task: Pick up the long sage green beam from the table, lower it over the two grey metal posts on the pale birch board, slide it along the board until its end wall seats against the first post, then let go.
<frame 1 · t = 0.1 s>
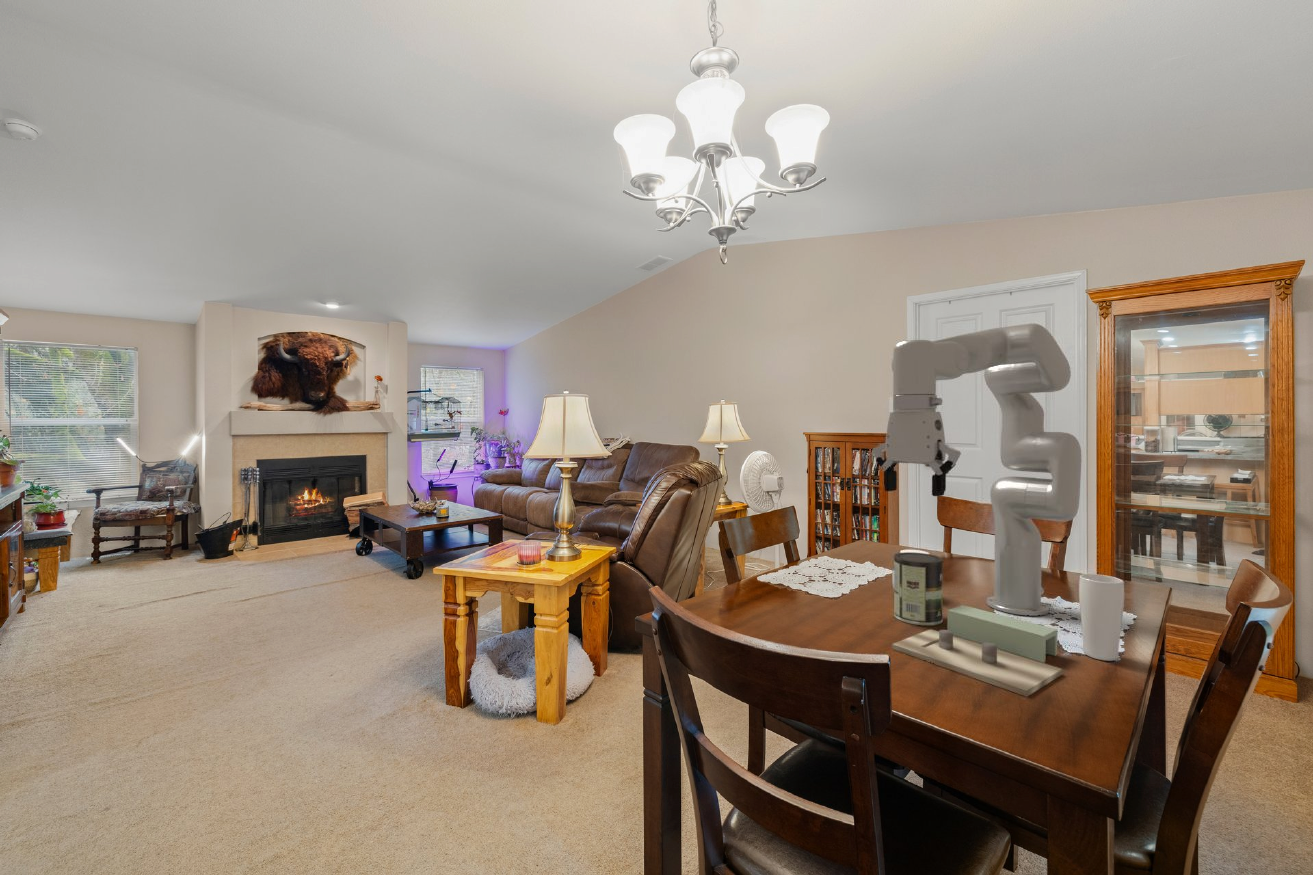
hand: (913, 493, 110), 31 cm above the table, tool pointing down, fingers open, 9 cm apart
coffee can: (917, 618, 129), on the table
spread jar: (914, 600, 143), on the table
board: (972, 661, 106), on the table
long sage green beam: (999, 643, 114), on the table
drinking glass: (1100, 657, 108), on the table
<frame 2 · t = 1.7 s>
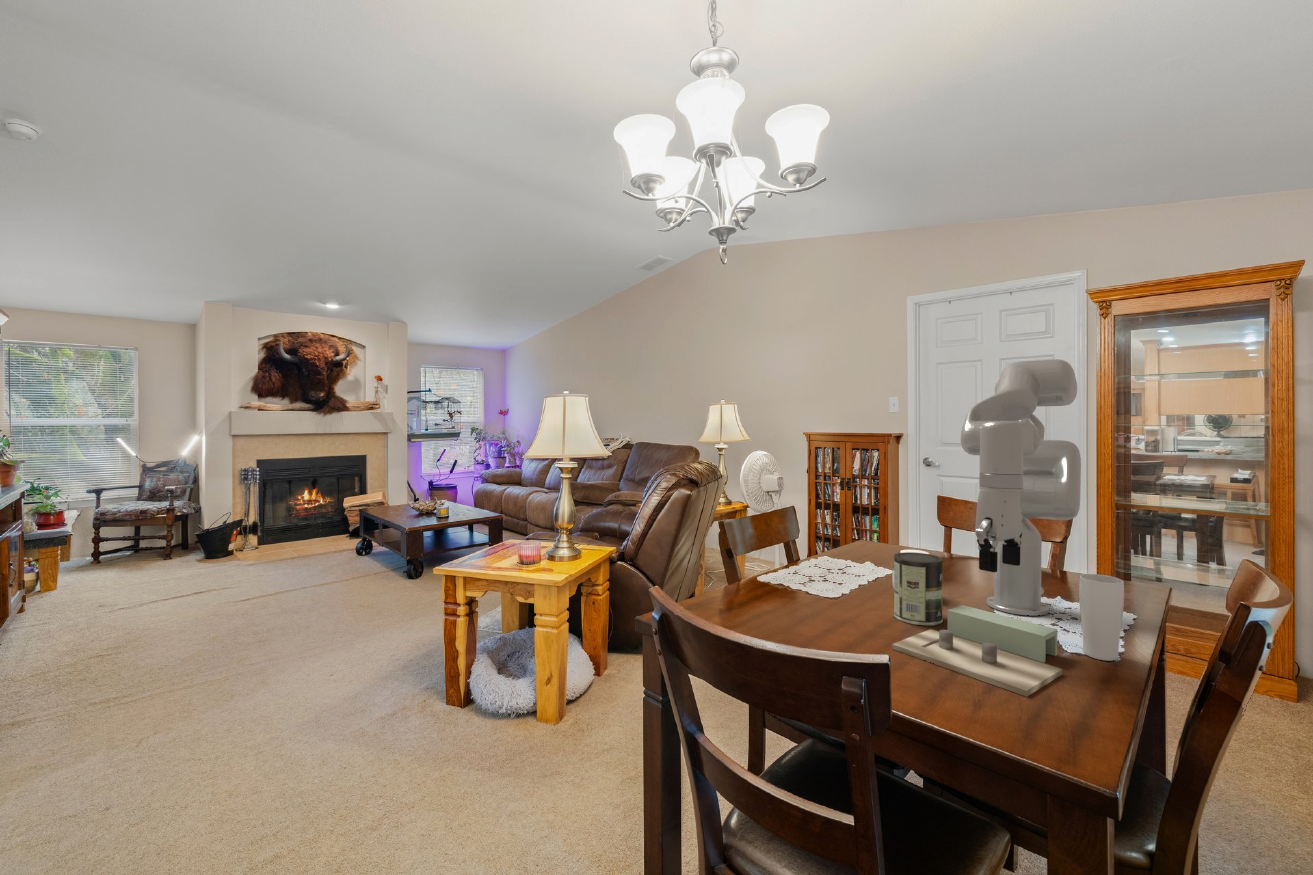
hand: (999, 567, 113), 16 cm above the table, tool pointing down, fingers open, 9 cm apart
nothing on the table moved.
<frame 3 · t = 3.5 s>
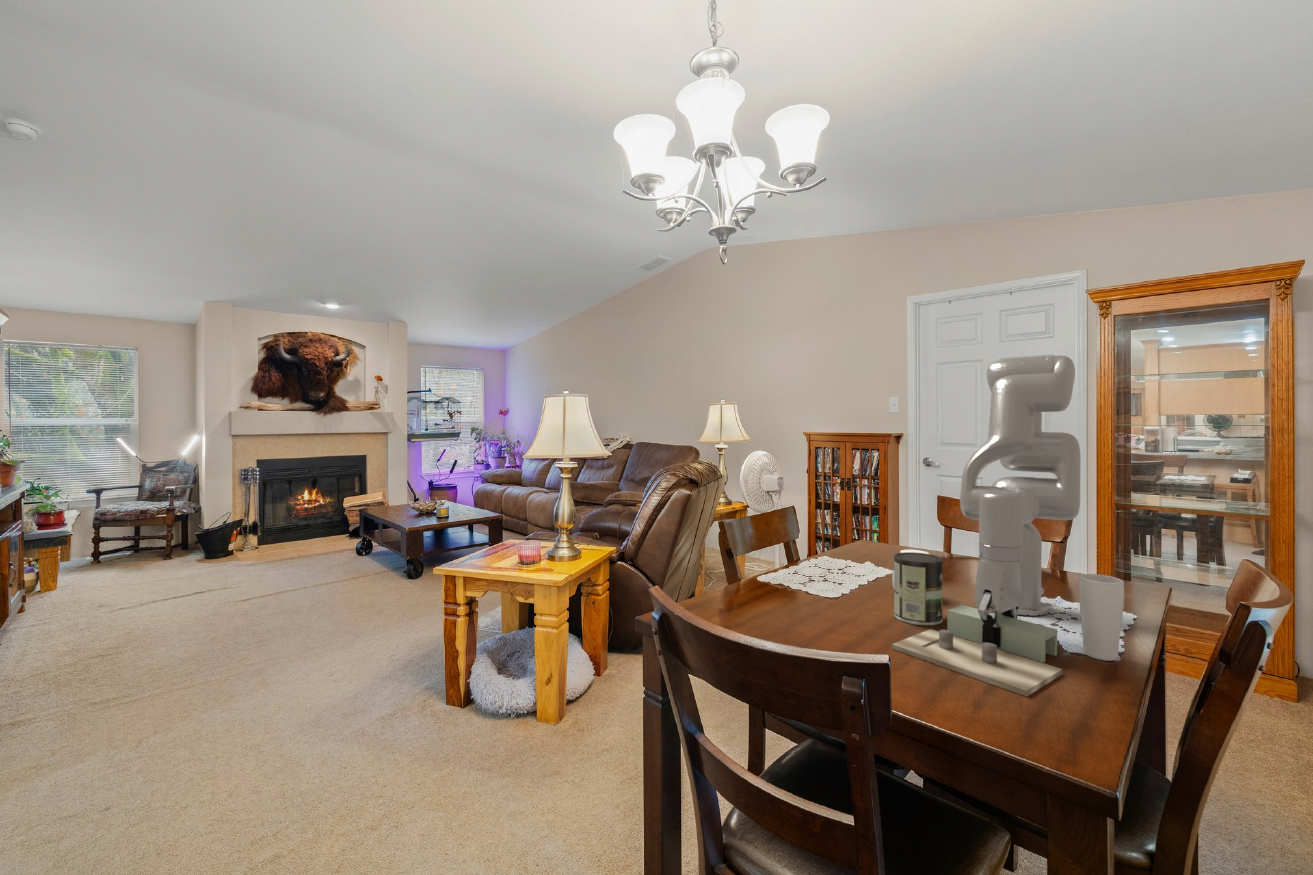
hand: (999, 640, 114), 1 cm above the table, tool pointing down, fingers closed on long sage green beam, 6 cm apart
long sage green beam: (999, 643, 114), on the table, touching gripper
everything else where it was.
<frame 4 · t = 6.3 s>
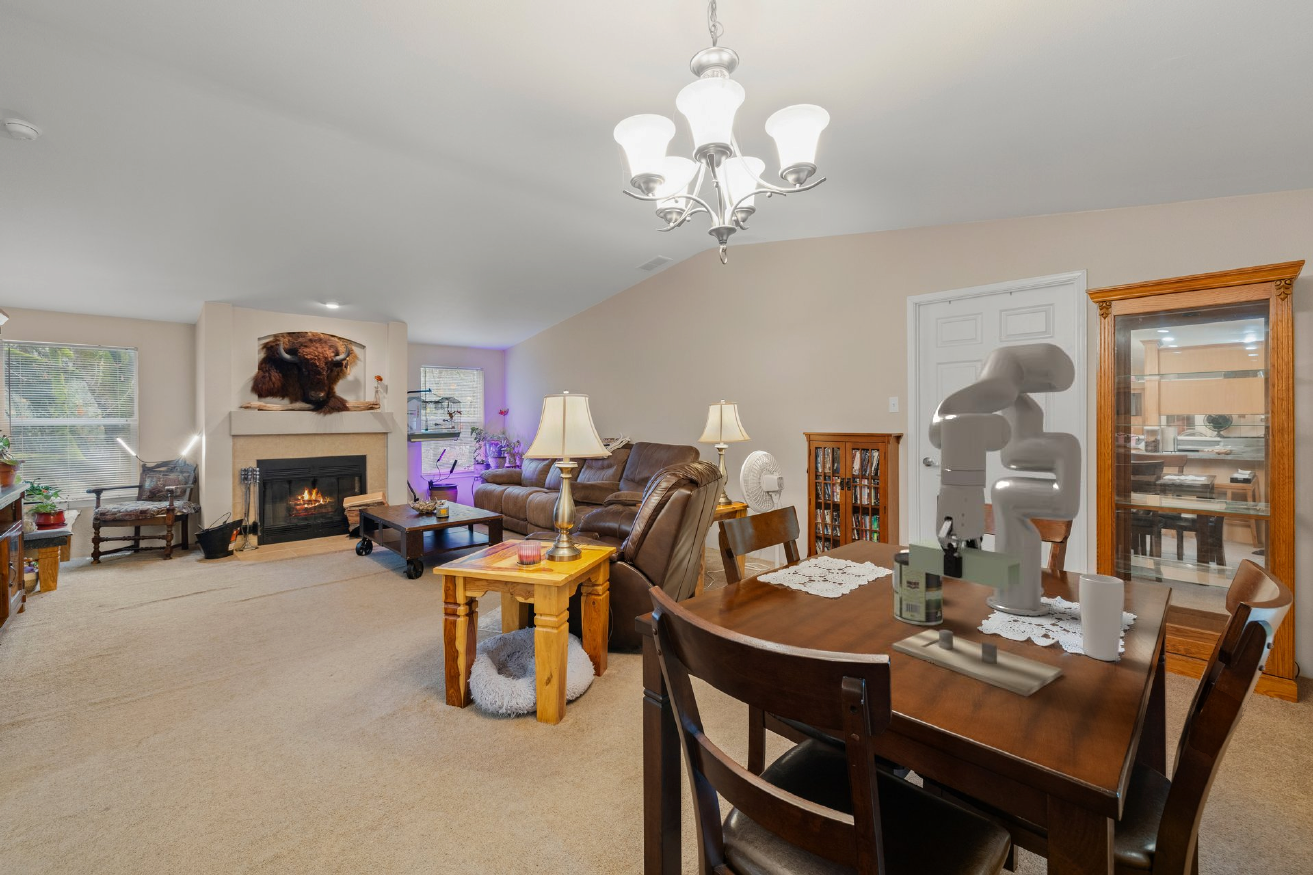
hand: (962, 573, 107), 16 cm above the table, tool pointing down, fingers closed on long sage green beam, 6 cm apart
long sage green beam: (962, 576, 107), point 16 cm above the table, touching gripper
everything else where it was.
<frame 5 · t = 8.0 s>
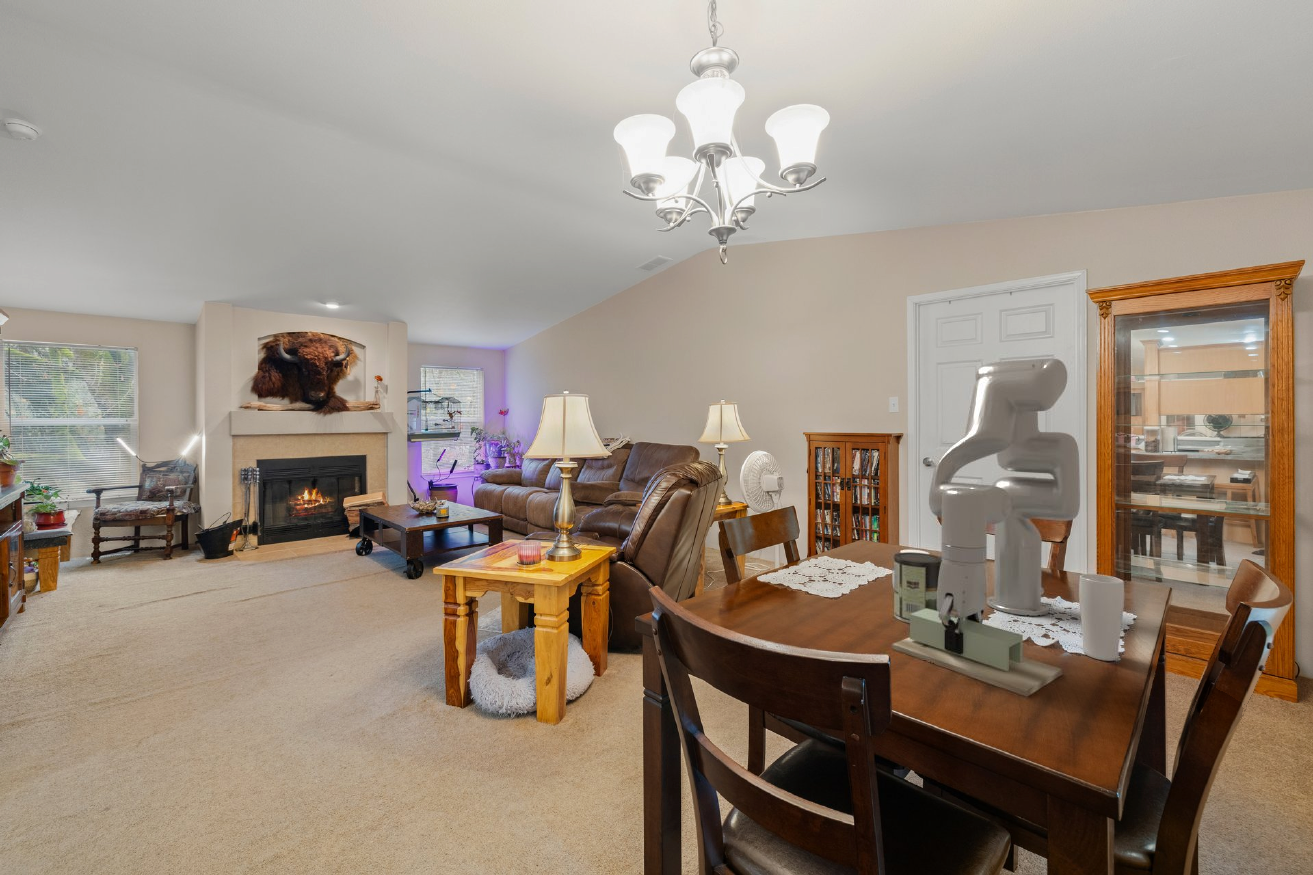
hand: (963, 646, 107), 2 cm above the table, tool pointing down, fingers closed on long sage green beam, 6 cm apart
long sage green beam: (963, 649, 107), point 1 cm above the table, touching gripper
everything else where it was.
when the fingers open (2 cm above the table, at t = 9.2 s): long sage green beam stays where it is, resting on board.
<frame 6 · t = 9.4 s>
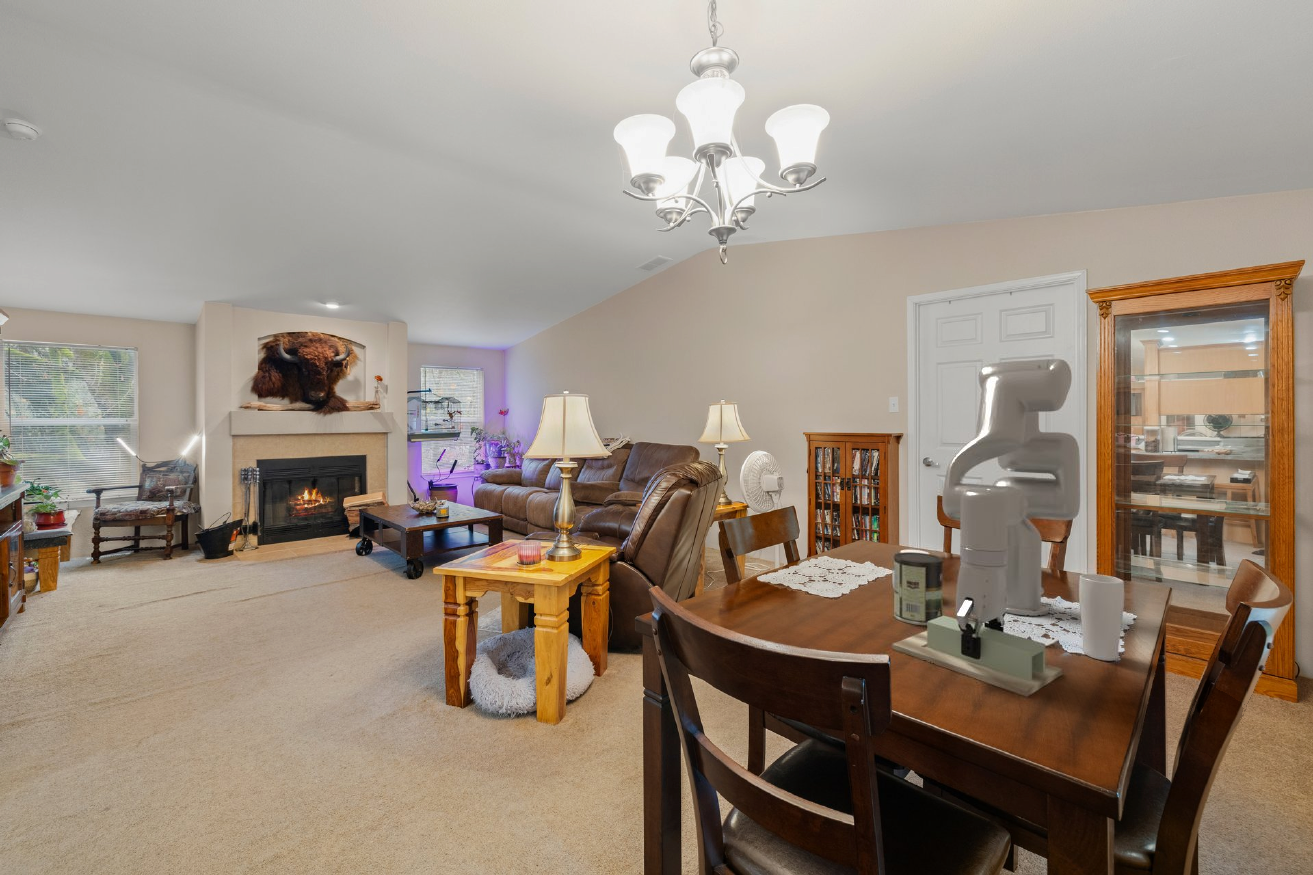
hand: (982, 650, 104), 3 cm above the table, tool pointing down, fingers open, 8 cm apart
long sage green beam: (982, 658, 104), point 1 cm above the table, touching board
everything else where it was.
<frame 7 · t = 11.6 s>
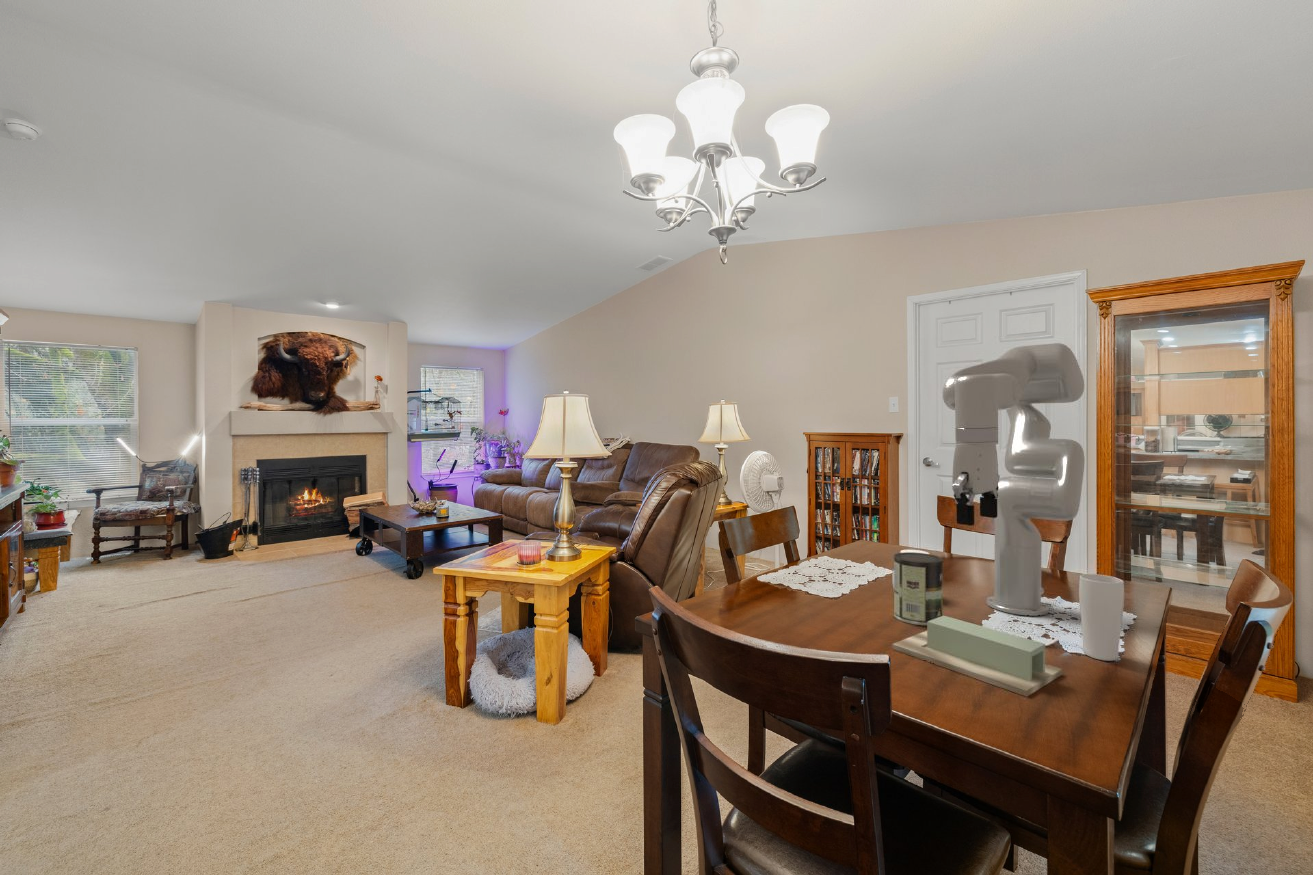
hand: (977, 520, 114), 25 cm above the table, tool pointing down, fingers open, 9 cm apart
nothing on the table moved.
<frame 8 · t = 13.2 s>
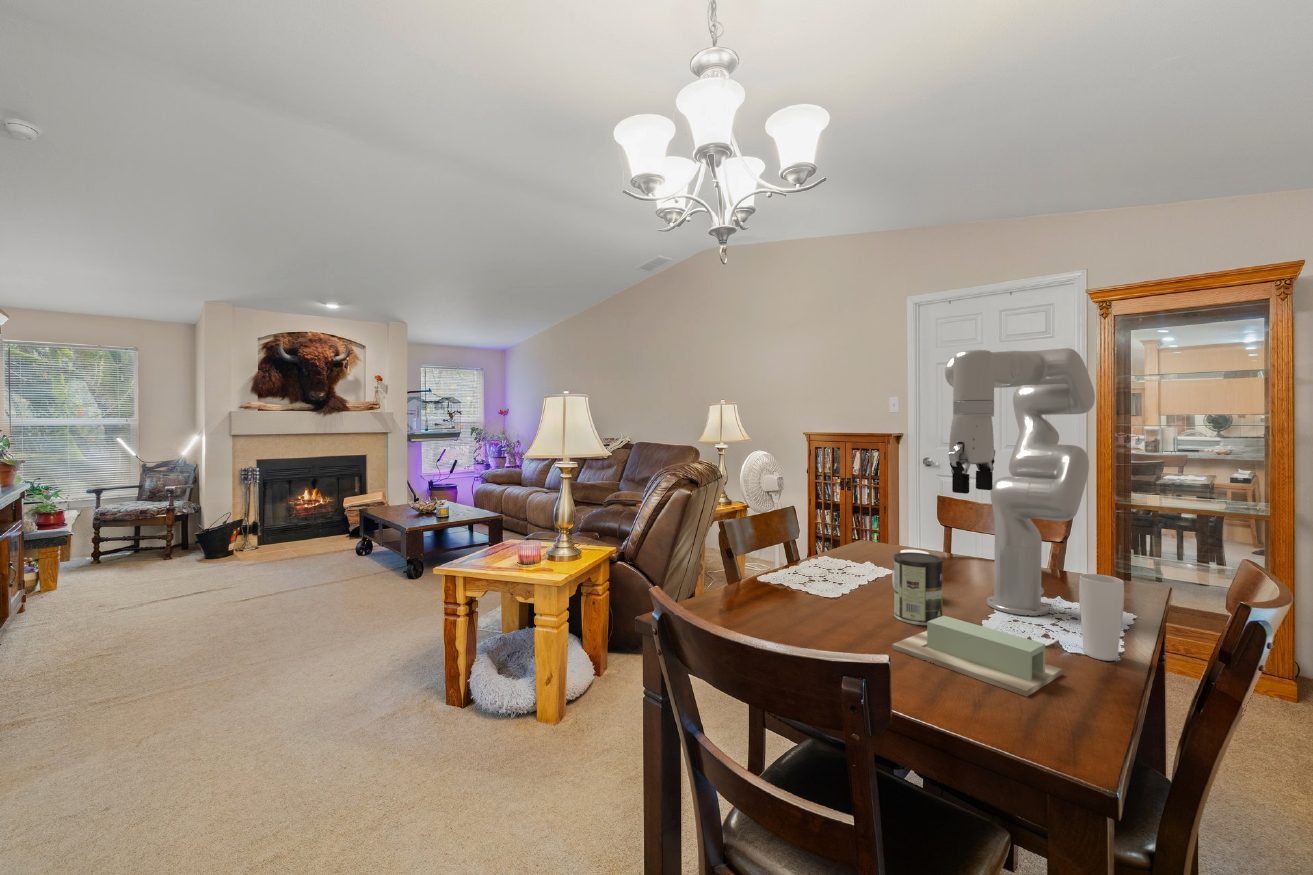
hand: (972, 491, 119), 30 cm above the table, tool pointing down, fingers open, 9 cm apart
nothing on the table moved.
at the end: long sage green beam 0.2 cm from the target spot on the board, point 1.0 cm above the board's base; long sage green beam tilted 0°; the gripper is holding nothing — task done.
